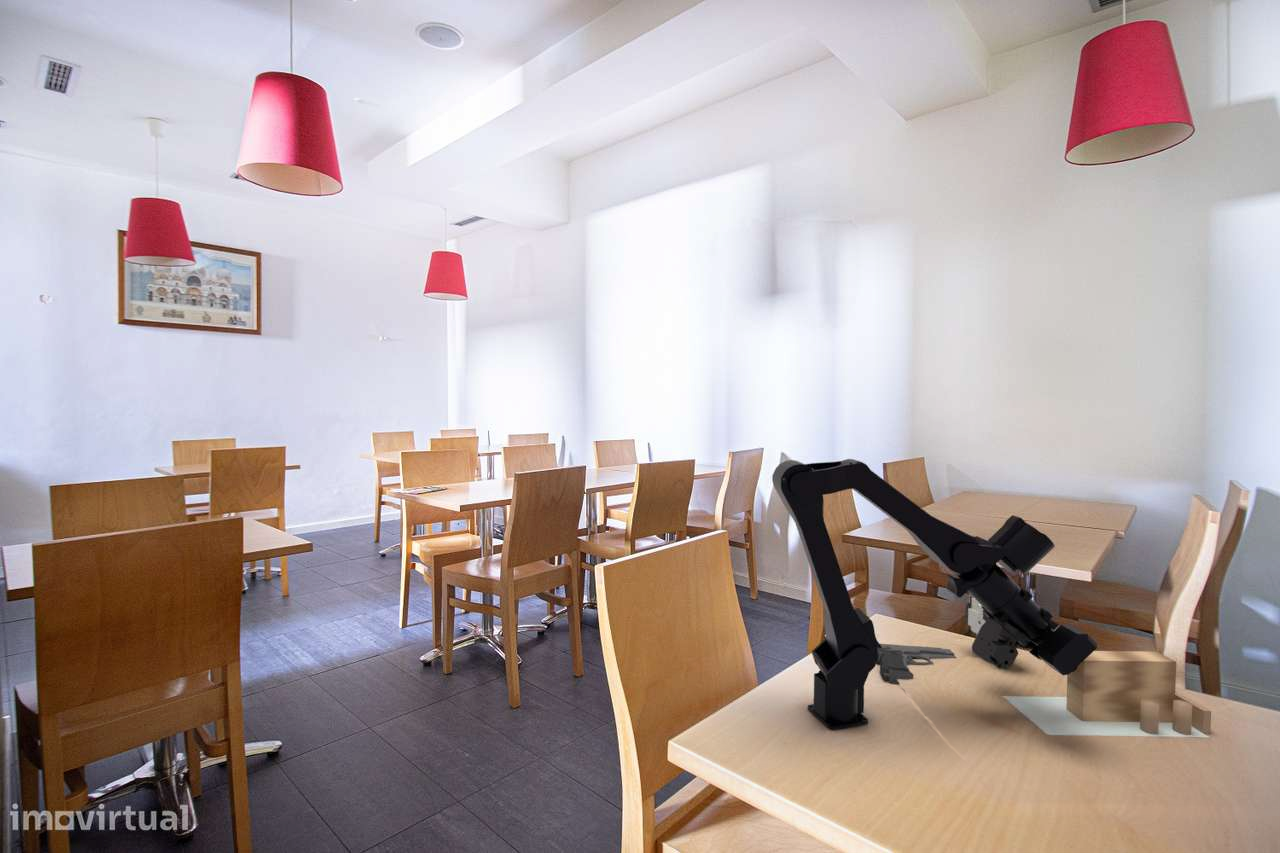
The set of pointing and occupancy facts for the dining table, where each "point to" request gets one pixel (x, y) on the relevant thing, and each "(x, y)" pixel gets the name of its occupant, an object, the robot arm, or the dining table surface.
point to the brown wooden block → (1121, 686)
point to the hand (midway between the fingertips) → (1073, 669)
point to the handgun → (906, 659)
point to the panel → (1060, 721)
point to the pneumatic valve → (975, 616)
